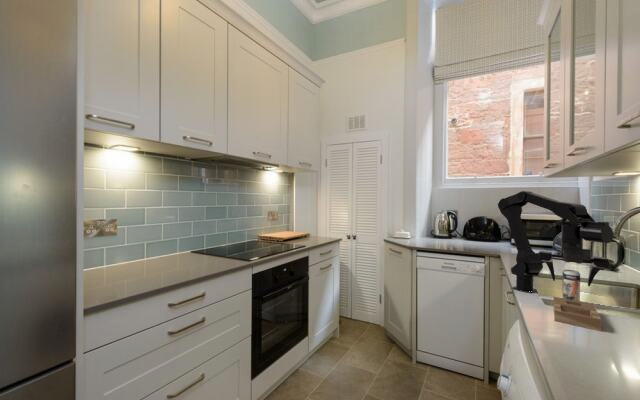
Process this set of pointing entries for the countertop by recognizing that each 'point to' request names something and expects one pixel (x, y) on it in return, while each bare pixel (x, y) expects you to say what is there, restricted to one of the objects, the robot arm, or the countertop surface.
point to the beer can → (571, 285)
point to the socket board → (576, 313)
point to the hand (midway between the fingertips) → (570, 283)
